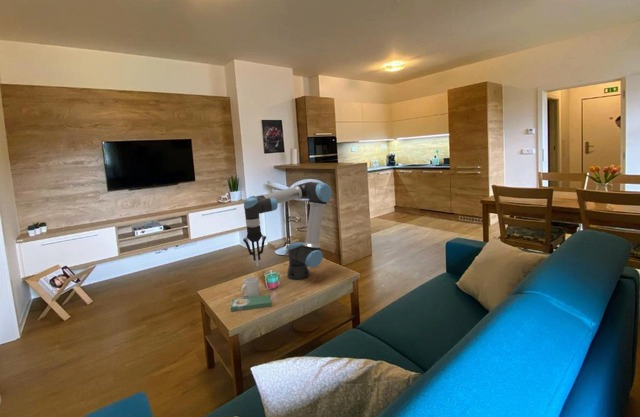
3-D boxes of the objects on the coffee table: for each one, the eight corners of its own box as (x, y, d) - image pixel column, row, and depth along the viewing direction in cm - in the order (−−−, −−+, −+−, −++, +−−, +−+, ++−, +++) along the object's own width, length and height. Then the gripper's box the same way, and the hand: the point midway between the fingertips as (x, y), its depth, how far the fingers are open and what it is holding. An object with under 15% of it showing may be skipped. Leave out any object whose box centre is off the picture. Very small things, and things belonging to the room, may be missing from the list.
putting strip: (270, 298, 198) (270, 294, 197) (271, 306, 188) (271, 302, 188) (232, 303, 194) (232, 299, 194) (231, 311, 184) (230, 307, 184)
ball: (246, 301, 192) (240, 298, 191) (245, 302, 188) (240, 299, 188) (243, 306, 191) (237, 304, 191) (242, 308, 188) (236, 305, 188)
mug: (237, 299, 199) (235, 282, 197) (253, 292, 208) (252, 275, 206) (246, 303, 194) (244, 285, 191) (262, 295, 202) (261, 278, 200)
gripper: (264, 222, 192) (268, 261, 197) (241, 225, 190) (246, 264, 195) (265, 225, 185) (269, 266, 190) (241, 228, 182) (245, 269, 187)
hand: (257, 265), depth 192 cm, fingers closed
